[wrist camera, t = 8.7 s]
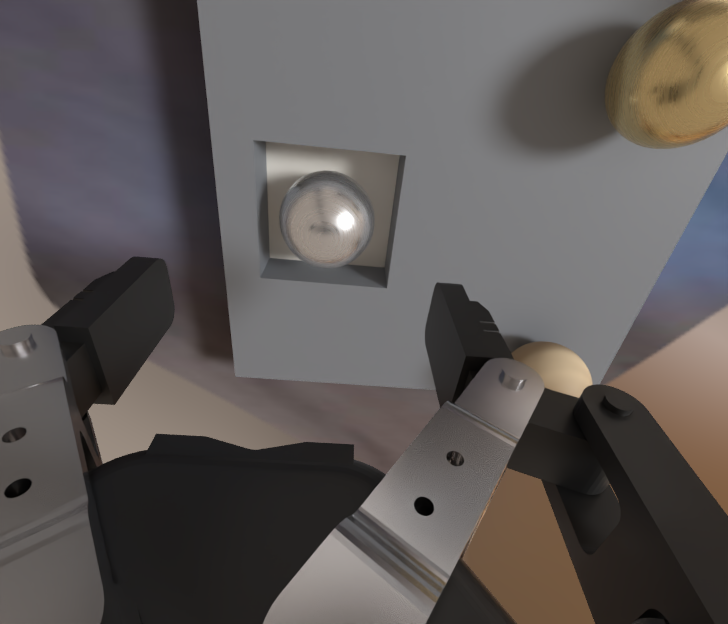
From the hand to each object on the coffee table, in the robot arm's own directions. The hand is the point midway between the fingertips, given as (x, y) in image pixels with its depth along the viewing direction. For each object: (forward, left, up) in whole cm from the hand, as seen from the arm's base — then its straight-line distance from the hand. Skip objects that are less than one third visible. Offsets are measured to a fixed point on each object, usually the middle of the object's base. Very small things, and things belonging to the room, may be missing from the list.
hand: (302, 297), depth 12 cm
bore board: (0, +6, -10) cm, 12 cm away
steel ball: (0, 0, -8) cm, 8 cm away
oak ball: (+7, +12, -5) cm, 15 cm away
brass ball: (-7, +12, -5) cm, 15 cm away
